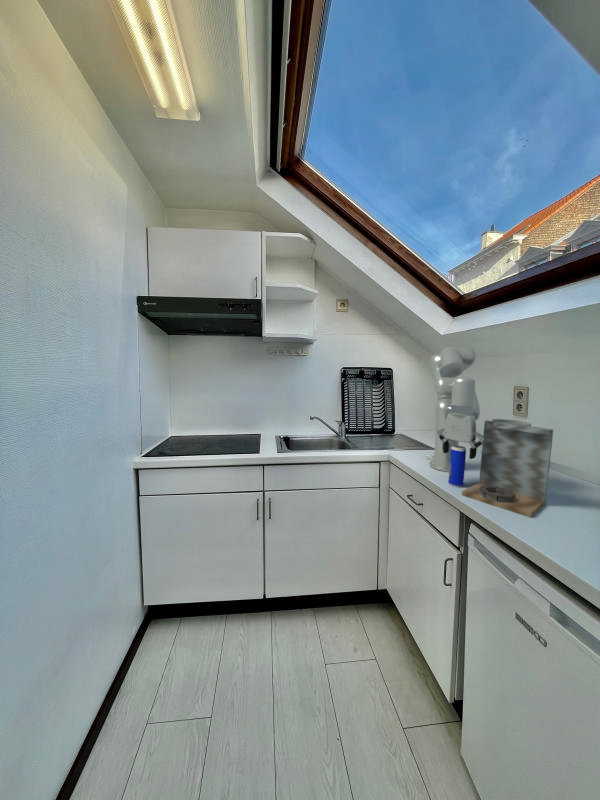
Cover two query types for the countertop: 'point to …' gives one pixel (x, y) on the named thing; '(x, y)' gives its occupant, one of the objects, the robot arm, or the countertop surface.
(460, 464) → the beverage can
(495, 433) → the display stand
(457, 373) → the robot arm
